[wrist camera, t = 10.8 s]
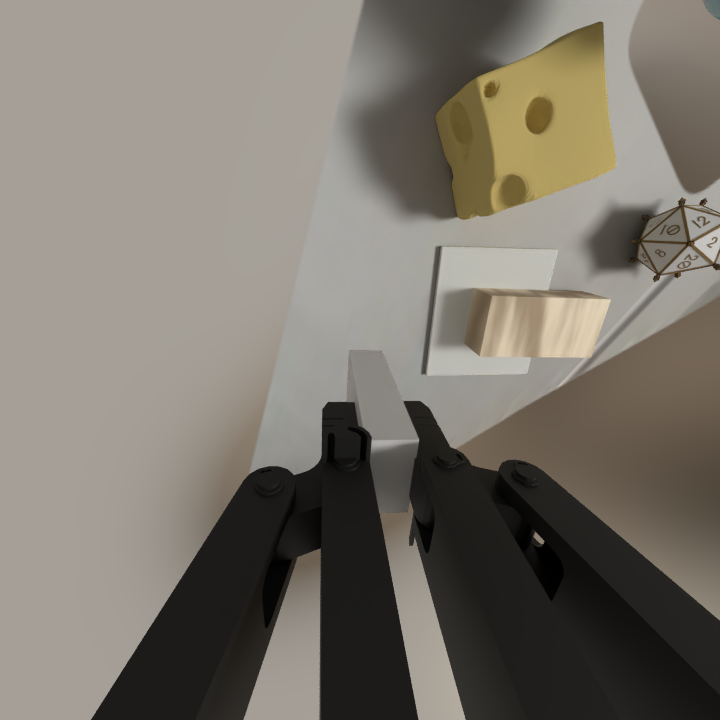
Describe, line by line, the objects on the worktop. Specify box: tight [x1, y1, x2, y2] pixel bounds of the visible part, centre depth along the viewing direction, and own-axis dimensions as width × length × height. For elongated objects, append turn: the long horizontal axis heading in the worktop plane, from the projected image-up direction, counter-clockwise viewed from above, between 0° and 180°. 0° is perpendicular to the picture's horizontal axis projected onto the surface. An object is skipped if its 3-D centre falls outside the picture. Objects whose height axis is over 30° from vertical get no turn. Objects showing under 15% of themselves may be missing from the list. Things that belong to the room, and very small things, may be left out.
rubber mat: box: [425, 246, 558, 376], centre depth 41 cm, size 14×16×1 cm
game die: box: [629, 197, 720, 282], centre depth 36 cm, size 9×8×10 cm
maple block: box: [464, 288, 611, 357], centre depth 39 cm, size 4×7×14 cm
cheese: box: [435, 22, 616, 220], centre depth 30 cm, size 10×11×10 cm
